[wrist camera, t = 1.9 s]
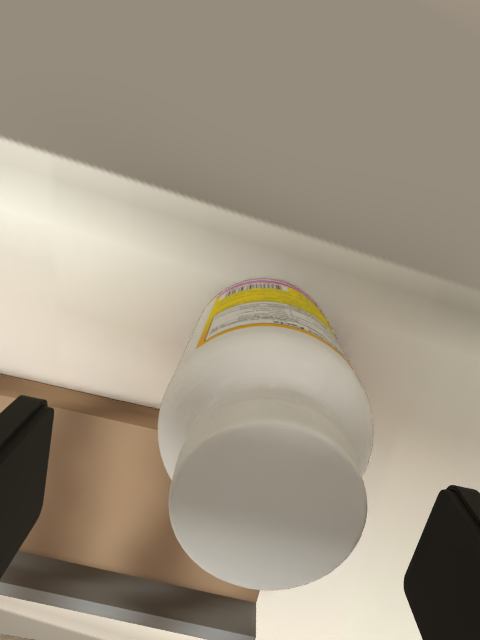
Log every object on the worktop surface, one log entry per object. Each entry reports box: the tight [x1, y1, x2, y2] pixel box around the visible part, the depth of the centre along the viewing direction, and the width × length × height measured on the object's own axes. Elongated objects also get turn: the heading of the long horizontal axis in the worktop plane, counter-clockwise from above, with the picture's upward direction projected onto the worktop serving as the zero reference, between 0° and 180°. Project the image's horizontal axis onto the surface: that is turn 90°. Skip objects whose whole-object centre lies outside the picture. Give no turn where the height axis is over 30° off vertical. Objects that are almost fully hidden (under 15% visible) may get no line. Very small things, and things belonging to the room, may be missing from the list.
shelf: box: [0, 374, 260, 640], centre depth 24 cm, size 22×10×4 cm, turn 77°
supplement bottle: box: [158, 279, 373, 590], centre depth 17 cm, size 7×7×13 cm
